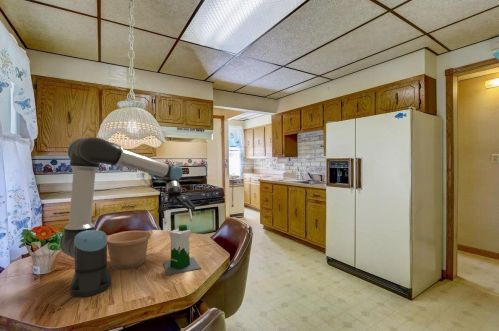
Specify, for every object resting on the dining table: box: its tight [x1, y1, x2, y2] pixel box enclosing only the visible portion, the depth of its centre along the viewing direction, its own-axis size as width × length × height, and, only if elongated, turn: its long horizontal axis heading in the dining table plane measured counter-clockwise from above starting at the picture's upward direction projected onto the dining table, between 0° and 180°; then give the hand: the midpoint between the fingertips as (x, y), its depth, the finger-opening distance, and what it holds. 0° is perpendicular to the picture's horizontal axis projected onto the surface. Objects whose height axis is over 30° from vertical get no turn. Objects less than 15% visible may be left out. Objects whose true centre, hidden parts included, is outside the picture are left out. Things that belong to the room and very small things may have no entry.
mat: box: [162, 256, 202, 276], centre depth 130 cm, size 16×16×1 cm
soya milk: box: [168, 224, 192, 269], centre depth 129 cm, size 9×9×20 cm
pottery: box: [106, 230, 151, 270], centre depth 134 cm, size 22×22×14 cm
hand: (178, 221), depth 136 cm, fingers open, 13 cm apart
